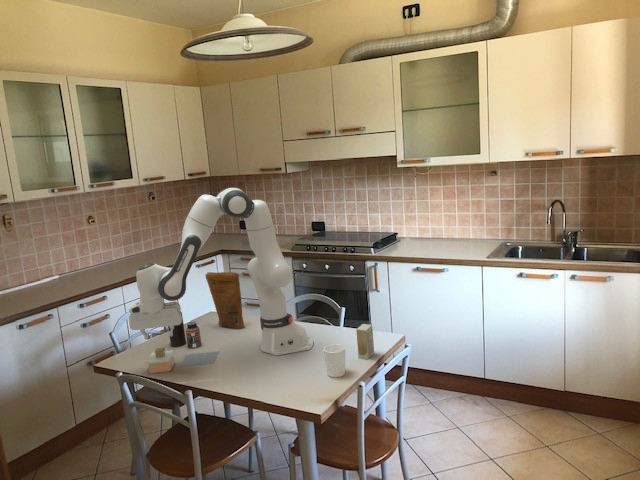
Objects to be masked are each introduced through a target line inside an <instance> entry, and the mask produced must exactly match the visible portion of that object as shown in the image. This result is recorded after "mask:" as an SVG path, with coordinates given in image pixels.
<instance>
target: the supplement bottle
mask: <svg viewBox="0 0 640 480" xmlns="http://www.w3.org/2000/svg"><path fill="white" fill-rule="evenodd" d="M186 323H187V325H186V326H187V327H186V329H185V338H186V345H187V348H188V349H198V348H200V347H202V340H201V339H202V337H201V330H200V327H199V326H198V325H197V322H196V321H189V322H186Z"/></svg>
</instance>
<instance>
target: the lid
mask: <svg viewBox="0 0 640 480" xmlns="http://www.w3.org/2000/svg"><path fill="white" fill-rule="evenodd" d="M175 352H176V351H175V350H174V349H171V350H166V349H165V346H164V347H157V348H156V349H155V351H153V352H151V354H150V355H149V357H148V359H147V360H146V362H145V363H146V364H147V365H148V364H151V363H161V362H170V360H171V358H172V357H173V355H174V356H175V354H176V353H175Z"/></svg>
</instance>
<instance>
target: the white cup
mask: <svg viewBox="0 0 640 480" xmlns="http://www.w3.org/2000/svg"><path fill="white" fill-rule="evenodd" d="M323 355H324V363H325V368H326V374H327V376H328V377H330V378H340V377H344V376H345V375H346V347H345V345H344V344H339V343H334V344H333V343H331V344H327V345H326V346H324V348H323Z"/></svg>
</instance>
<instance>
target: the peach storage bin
mask: <svg viewBox="0 0 640 480" xmlns="http://www.w3.org/2000/svg"><path fill="white" fill-rule="evenodd" d="M175 364H176V362H175V354H174V355H173V357H172V358H171V360H170V362H161V363H151V364H147V365H148V370H149V371H148V372H149V375H151V374H160V373H171V372H172V369H173V368H174V365H175Z"/></svg>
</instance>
